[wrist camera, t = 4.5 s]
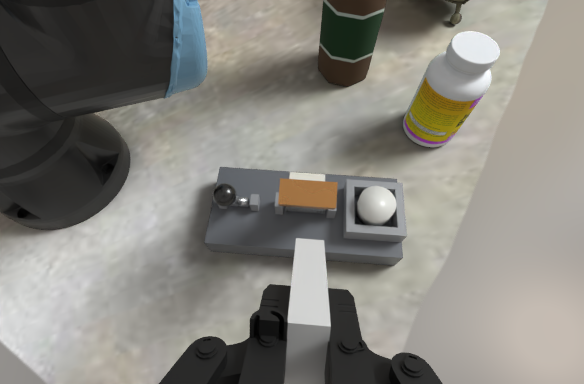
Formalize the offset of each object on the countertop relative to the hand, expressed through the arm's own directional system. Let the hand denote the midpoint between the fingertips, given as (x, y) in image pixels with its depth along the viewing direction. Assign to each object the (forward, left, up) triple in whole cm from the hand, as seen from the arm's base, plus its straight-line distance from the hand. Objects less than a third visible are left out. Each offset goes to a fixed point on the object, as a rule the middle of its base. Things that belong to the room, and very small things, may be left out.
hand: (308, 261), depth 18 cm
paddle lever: (+6, +7, -13) cm, 16 cm away
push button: (+11, +3, -13) cm, 18 cm away
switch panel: (+6, +7, -17) cm, 20 cm away
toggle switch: (+1, +12, -14) cm, 18 cm away
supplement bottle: (+27, +8, -18) cm, 33 cm away
